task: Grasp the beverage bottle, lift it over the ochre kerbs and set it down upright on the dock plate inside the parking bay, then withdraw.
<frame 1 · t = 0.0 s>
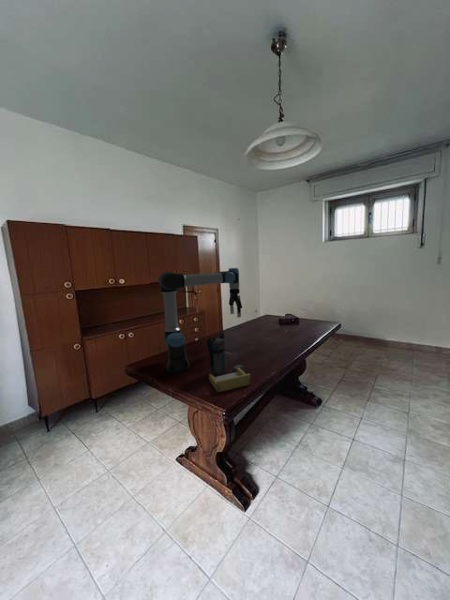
hand: (235, 315, 193), 28 cm above the table, fingers open, 13 cm apart
beverage bottle: (217, 373, 159), on the table
dock bay: (228, 381, 147), on the table
wheel chock: (238, 370, 161), on the table
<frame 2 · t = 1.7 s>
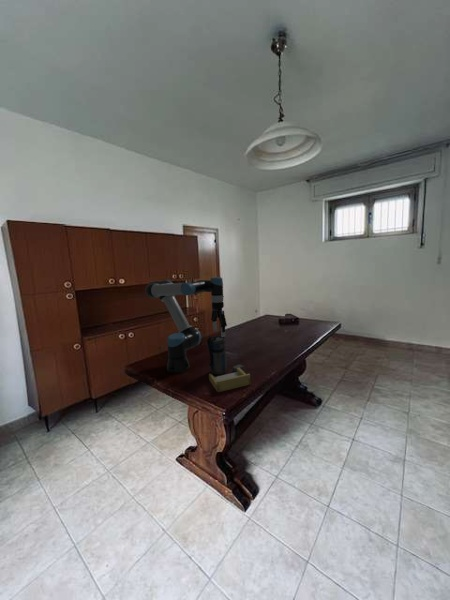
hand: (219, 333, 161), 24 cm above the table, fingers open, 13 cm apart
nothing on the table moved.
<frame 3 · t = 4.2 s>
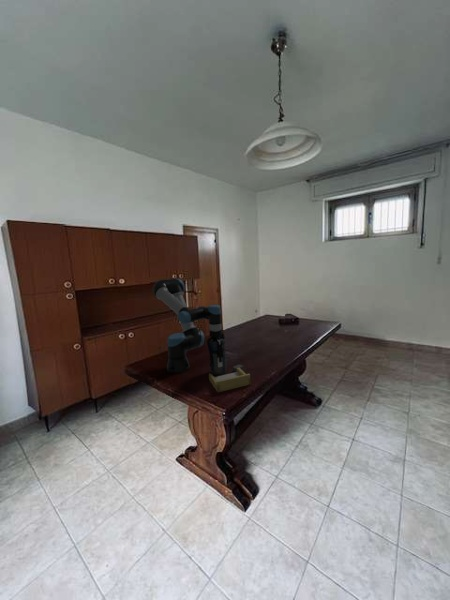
hand: (217, 363, 158), 6 cm above the table, fingers closed on beverage bottle, 10 cm apart
beverage bottle: (217, 373, 159), on the table, touching gripper
everything else where it was.
when the fingers open (9 cm above the table, at t = 10.2 s): beverage bottle drops 2 cm, resting on dock bay.
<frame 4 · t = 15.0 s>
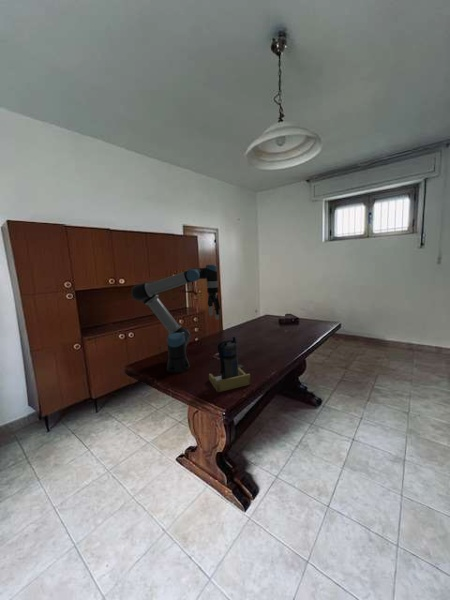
hand: (214, 317, 174), 32 cm above the table, fingers open, 13 cm apart
beverage bottle: (229, 380, 146), point 1 cm above the table, touching dock bay
everything else where it was.
at the end: beverage bottle inside the target area on the dock bay (0.3 cm from its centre), point 1.0 cm above the dock bay's base; beverage bottle tilted 0°; the gripper is holding nothing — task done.
